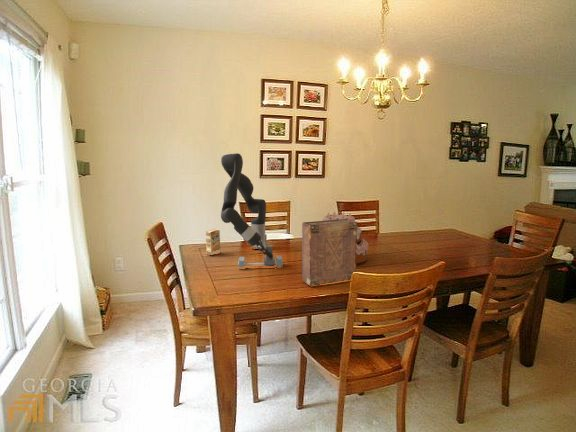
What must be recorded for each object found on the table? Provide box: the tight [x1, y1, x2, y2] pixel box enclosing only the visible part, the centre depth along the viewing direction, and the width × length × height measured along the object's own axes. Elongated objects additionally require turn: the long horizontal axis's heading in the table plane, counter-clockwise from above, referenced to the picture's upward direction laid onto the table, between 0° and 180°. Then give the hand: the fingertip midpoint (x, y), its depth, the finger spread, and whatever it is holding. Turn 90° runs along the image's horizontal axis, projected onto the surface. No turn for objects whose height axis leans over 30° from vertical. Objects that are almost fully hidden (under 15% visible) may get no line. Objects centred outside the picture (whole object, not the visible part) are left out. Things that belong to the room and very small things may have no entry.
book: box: [301, 219, 358, 286], centre depth 181 cm, size 25×9×30 cm, turn 114°
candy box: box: [205, 228, 221, 252], centre depth 231 cm, size 9×4×15 cm, turn 150°
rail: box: [237, 255, 284, 268], centre depth 206 cm, size 25×8×5 cm, turn 96°
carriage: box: [263, 244, 276, 266], centre depth 206 cm, size 6×6×11 cm
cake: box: [322, 211, 369, 266], centre depth 221 cm, size 35×35×28 cm
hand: (271, 255), depth 206 cm, fingers open, 8 cm apart
